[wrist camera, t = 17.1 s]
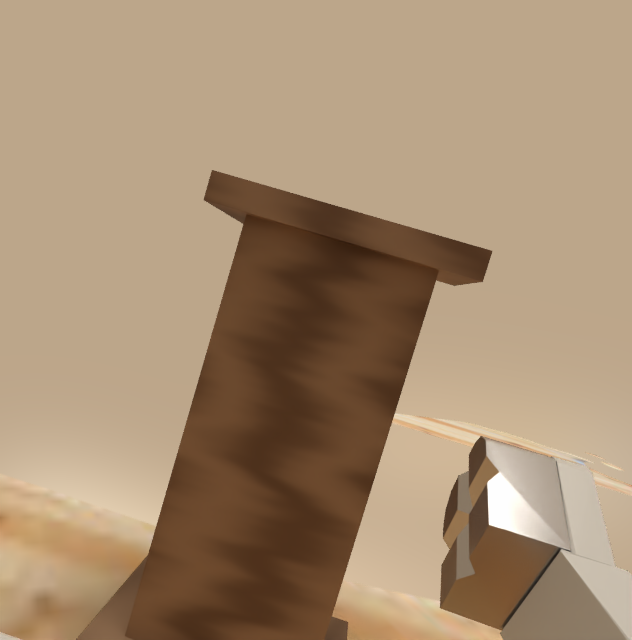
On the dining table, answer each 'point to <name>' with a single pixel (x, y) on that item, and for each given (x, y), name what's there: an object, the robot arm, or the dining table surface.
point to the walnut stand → (285, 421)
